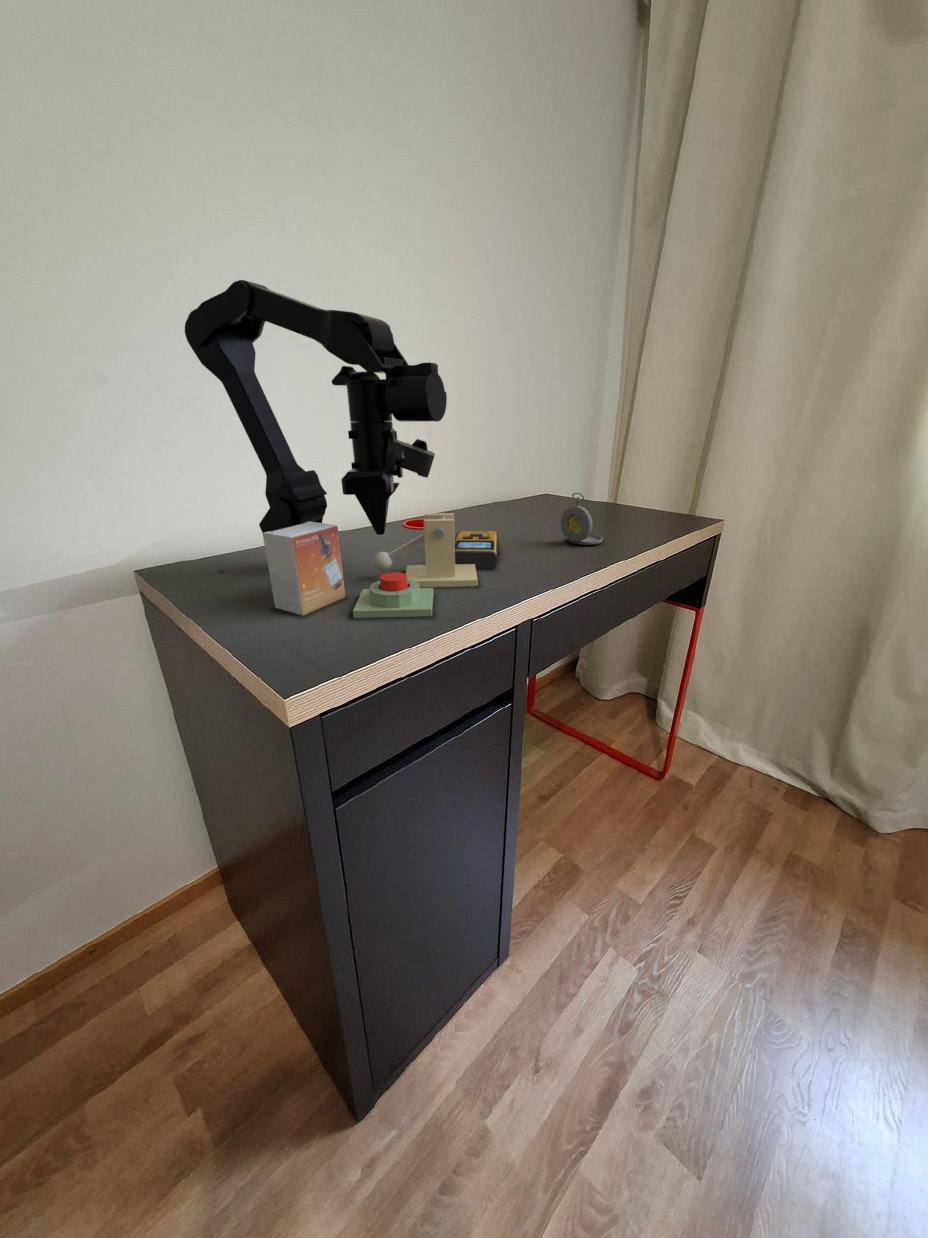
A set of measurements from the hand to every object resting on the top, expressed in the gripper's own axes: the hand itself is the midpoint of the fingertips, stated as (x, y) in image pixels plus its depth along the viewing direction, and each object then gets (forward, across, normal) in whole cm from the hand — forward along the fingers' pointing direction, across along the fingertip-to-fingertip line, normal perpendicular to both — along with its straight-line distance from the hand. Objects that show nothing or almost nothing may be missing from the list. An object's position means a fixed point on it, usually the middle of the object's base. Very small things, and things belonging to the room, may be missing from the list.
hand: (380, 534), depth 73 cm
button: (+5, -11, -3) cm, 12 cm away
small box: (+8, -9, +9) cm, 15 cm away
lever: (+3, 0, -5) cm, 6 cm away
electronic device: (+8, +12, -15) cm, 21 cm away
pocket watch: (+8, +20, -36) cm, 42 cm away
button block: (+7, -11, -3) cm, 13 cm away
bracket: (+7, 0, -9) cm, 11 cm away
